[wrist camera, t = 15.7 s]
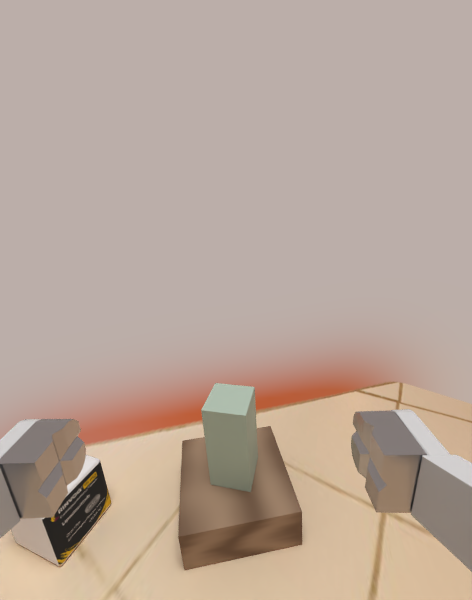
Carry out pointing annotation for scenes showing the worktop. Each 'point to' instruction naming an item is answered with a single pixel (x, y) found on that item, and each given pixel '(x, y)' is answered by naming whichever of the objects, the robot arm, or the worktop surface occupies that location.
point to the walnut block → (236, 508)
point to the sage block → (231, 436)
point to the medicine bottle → (67, 517)
